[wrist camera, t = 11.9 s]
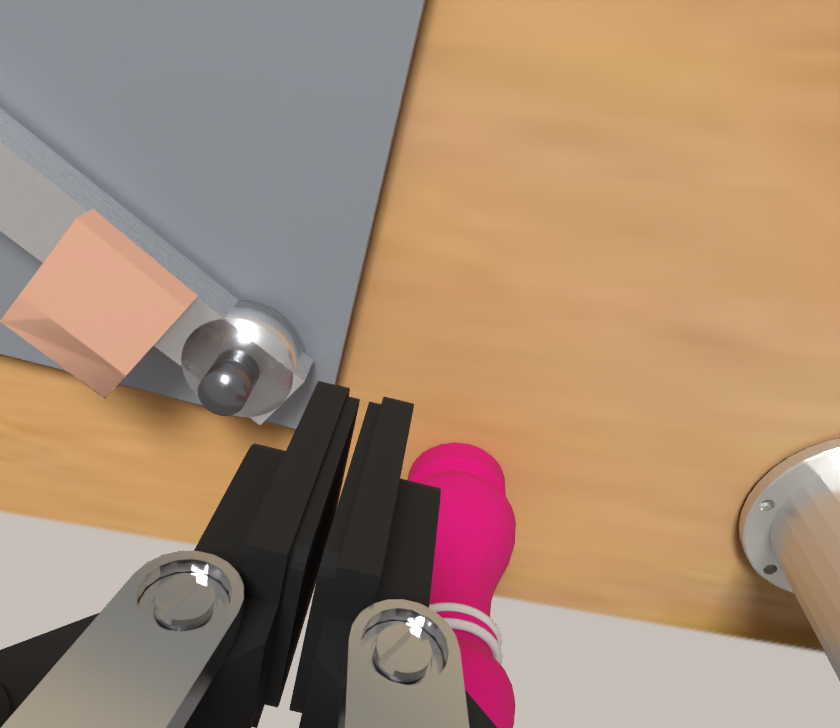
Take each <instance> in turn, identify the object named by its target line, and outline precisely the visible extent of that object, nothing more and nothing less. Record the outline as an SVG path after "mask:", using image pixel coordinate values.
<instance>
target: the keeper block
mask: <svg viewBox="0 0 840 728" xmlns="http://www.w3.org/2000/svg"><path fill="white" fill-rule="evenodd" d="M197 296H198V295H196V294H195V293H194V292H193V291H192V290H190V289H189V288H188V287H187V286H186V285H184V284H183V283H182V282H181V281H180V280H178V279H177V278H176V277H175V276H174V275H172V274H171V273H170V272H169V271H167V270H166V269H165V268H164V267H163V266H161V265H160V264H159V263H158V262H157V261H155V260H154V259H153V258H152V257H151V256H149V255H148V254H147V253H146V252H145V251H143V250H142V249H141V248H140V247H139V246H137V245H136V244H135V243H134V242H133V241H131V240H130V239H129V238H128V237H127V236H125V235H124V234H123V233H122V232H120V231H119V230H118V229H117V228H116V227H114V226H113V225H112V224H111V223H110V222H108V221H107V220H106V219H105V218H104V217H102V216H101V215H100V214H99V213H98V212H96V211H95V210H94V209H91V210H90V211H88V212H86V213H85V214H83V215H81V216H79V217H78V218H76V219H75V221H74V222H73V223H72V225H71V226H70V228H69V229H68V230H67V232H66V233H65V234H64V236H63V237H62V238H61V240H60V241H59V242H58V244H57V245H56V246H55V248H54V249H53V250H52V252H51V253H50V254H49V256H48V257H47V258H46V260H45V261H44V262H43V264H42V265H41V266H40V268H39V269H38V271H37V272H36V273H35V275H34V276H33V277H32V279H31V280H30V281H29V283H28V284H27V285H26V287H25V288H24V289H23V291H22V292H21V293H20V295H19V296H18V297H17V299H16V300H15V301H14V303H13V304H12V305H11V307H10V308H9V309H8V311H7V312H6V313H5V315H4V316H3V318H2V319H1V320H0V322H1V323H3V324H4V325H5V326H7V327H8V328H9V329H11V330H12V331H13V332H15V333H16V334H18V335H19V336H20V337H22V338H23V339H24V340H26V341H27V342H28V343H30V344H31V345H32V346H34V347H35V348H37V349H38V350H39V351H41V352H42V353H43V354H45V355H46V356H47V357H49V358H50V359H51V360H53V361H54V362H55V363H57V364H58V365H60V366H61V367H62V368H64V369H65V370H66V371H68V372H69V373H70V374H72V375H73V376H74V377H76V378H77V379H79V380H80V381H81V382H83V383H84V384H85V385H87V386H88V387H89V388H91V389H92V390H93V391H95V392H96V393H98V394H99V395H100V396H102V397H103V398H104V399H105V398H106V397H107V396H108V395H109V394H110V393H111V392H112V391H113V389H114V388H115V387H116V386H117V385H118V384H119V383H120V382H121V381H122V380H123V378H124V377H125V376H126V375H127V374H128V373H129V372H130V371H131V370H132V368H133V367H134V366H135V365H136V364H137V363H138V362H139V361H140V360H141V359H142V357H143V356H144V355H145V354H146V353H147V352H148V351H149V350H150V349H151V347H152V346H153V345H154V344H155V343H156V342H157V341H158V340H159V339H160V338H161V336H162V335H163V334H164V333H165V332H166V331H167V330H168V329H169V328H170V326H171V325H172V324H173V323H174V322H175V321H176V320H177V319H178V318H179V317H180V315H181V314H182V313H183V312H184V311H185V310H186V309H187V308H188V307H189V305H190V304H191V303H192V302H193V301H194V300H195V299H196V298H197Z"/></svg>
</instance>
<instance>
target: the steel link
mask: <svg viewBox="0 0 840 728" xmlns="http://www.w3.org/2000/svg"><path fill="white" fill-rule="evenodd" d="M91 209H94V210H95V211H96V212H98V213H99V214H100V215H101V216H102V217H104V218H105V219H106V220H107V221H108V222H110V223H111V224H112V225H113V226H114V227H116V228H117V229H118V230H119V231H120V232H122V233H123V234H124V235H125V236H127V237H128V238H129V239H130V240H131V241H133V242H134V243H135V244H136V245H137V246H139V247H140V248H141V249H142V250H143V251H145V252H146V253H147V254H148V255H149V256H151V257H152V258H153V259H154V260H155V261H157V262H158V263H159V264H160V265H161V266H163V267H164V268H165V269H166V270H167V271H169V272H170V273H171V274H172V275H174V276H175V277H176V278H177V279H178V280H180V281H181V282H182V283H183V284H184V285H186V286H187V287H188V288H189V289H190V290H192V291H193V292H194V293H195V294H196V295H198V296H197V298H196V299H195V300H194V301H193V302H192V303H191V304H190V305H189V307H188V308H187V309H186V310H185V311H184V312H183V313H182V314H181V315H180V317H179V318H178V319H177V320H176V321H175V322H174V323H173V324H172V325H171V326H170V328H169V329H168V330H167V331H166V332H165V333H164V334H163V335H162V336H161V338H160V339H159V340H158V341H157V342H156V343H155V344H154V345H153V346H155V347H156V348H157V349H159V350H160V351H161V352H163V353H164V354H165V355H167V356H168V357H169V358H171V359H172V360H173V361H175V362H176V363H177V364H179V365H180V366H181V367H182V370H183V373H184V376H185V379H186V381H187V383H188V384H189V386H190V388H191V389H192V390H193V392H194V393H195V394H196V395H197V396H198V397H199V400H200V402H201V403H202V405H203V406H204V407H205V408H206V409H208V410H209V411H210V412H212V413H215V414H217V415H222V416H230V415H232V416H237V417H249V418H251V419H252V420H253V421H255V422H256V423H257V424H259V425H261V424H262V423H263V422H264V421H265V420H266V419H267V418H268V417H269V416H270V415H271V414H272V413H273V412H274V411H275V410H276V409H277V408H278V407H279V406H280V405H281V404H282V403H283V402H284V401H285V400H286V399H287V398H288V397H289V396H290V395H291V394H292V393H293V392H294V391H295V390H296V389H297V388H298V387H300V386H301V385H302V384H303V383H304V381H305V379H306V377H307V374H308V372H309V370H310V367H311V365H312V363H313V359H312V358H310V357H309V356H308V355H307V354H305V353H304V352H303V348H302V343H301V340H300V337H299V335H298V333H297V331H296V329H295V328H294V326H293V325H292V324H291V323H290V321H289V320H288V319H287V318H286V317H285V316H283V315H282V314H281V313H280V312H278V311H277V310H275V309H274V308H272V307H270V306H268V305H265V304H263V303H260V302H256V301H251V300H238V299H237V298H236V297H235V296H233V295H232V294H231V293H230V292H228V291H227V290H226V289H225V288H223V287H222V286H221V285H220V284H218V283H217V282H216V281H215V280H213V279H212V278H211V277H210V276H208V275H207V274H206V273H205V272H203V271H202V270H201V269H200V268H199V267H197V266H196V265H195V264H194V263H192V262H191V261H190V260H189V259H187V258H186V257H185V256H184V255H182V254H181V253H180V252H179V251H177V250H176V249H175V248H174V247H172V246H171V245H170V244H169V243H167V242H166V241H165V240H164V239H163V238H161V237H160V236H159V235H158V234H156V233H155V232H154V231H153V230H151V229H150V228H149V227H148V226H146V225H145V224H144V223H143V222H141V221H140V220H139V219H138V218H136V217H135V216H134V215H133V214H131V213H130V212H129V211H128V210H126V209H125V208H124V207H123V206H122V205H120V204H119V203H118V202H117V201H115V200H114V199H113V198H112V197H110V196H109V195H108V194H107V193H105V192H104V191H103V190H102V189H100V188H99V187H98V186H97V185H95V184H94V183H93V182H92V181H90V180H89V179H88V178H87V177H86V176H84V175H83V174H82V173H81V172H79V171H78V170H77V169H76V168H74V167H73V166H72V165H71V164H69V163H68V162H67V161H66V160H64V159H63V158H62V157H61V156H59V155H58V154H57V153H56V152H54V151H53V150H52V149H51V148H49V147H48V146H47V145H46V144H45V143H43V142H42V141H41V140H40V139H38V138H37V137H36V136H35V135H33V134H32V133H31V132H30V131H28V130H27V129H26V128H25V127H23V126H22V125H21V124H20V123H18V122H17V121H16V120H15V119H13V118H12V117H11V116H10V115H9V114H7V113H6V112H5V111H4V110H2V109H1V108H0V231H1V232H2V233H4V234H5V235H6V236H8V237H9V238H10V239H12V240H13V241H14V242H16V243H17V244H18V245H20V246H21V247H22V248H24V249H25V250H26V251H28V252H29V253H30V254H32V255H33V256H34V257H36V258H37V259H38V260H40V261H41V262H42V263H43V262H44V261H45V260H46V258H47V257H48V256H49V254H50V253H51V252H52V250H53V249H54V248H55V246H56V245H57V244H58V242H59V241H60V240H61V238H62V237H63V236H64V234H65V233H66V232H67V230H68V229H69V228H70V226H71V225H72V223H73V222H74V221H75V219H76V218H78V217H79V216H81V215H83V214H85V213H86V212H88V211H90V210H91Z"/></svg>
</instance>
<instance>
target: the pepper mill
mask: <svg viewBox="0 0 840 728" xmlns="http://www.w3.org/2000/svg"><path fill="white" fill-rule="evenodd" d="M408 481H412V482H417V483H421V484H425V485H429V486H433V487H437V488H440V489H441V498H440V508H439V517H438V527H437V537H436V546H435V556H434V566H433V575H432V585H431V595H430V605H429V608H430V609H432V610H434V611H435V612H436V613H437V614H439V615H440V616H441V617H442V618H443V619H444V620H445V621H446V622H447V623H448V624H449V626H450V627H451V629H452V630H453V632H454V633H455V635H456V638H457V641H458V645H459V648H460V653H461V661H462V670H463V678H464V686H465V690H466V691H467V692H468V693H469V694H470V696H471V697H472V698H473V699H474V700H475V702H476V703H477V704H478V705H479V706H480V708H481V709H482V710H483V711H484V712H485V713H486V715H487V716H488V717H489V718H490V719H491V721H492V722H493V723H494V724H495V725H496V727H497V728H513V725H514V714H515V701H514V700H515V699H514V693H513V689H512V684H511V682H510V680H509V678H508V676H507V674H506V672H505V670H504V669H503V667H502V666H501V662H502V653H501V635H500V632H499V629H498V627H497V626H496V624H495V623H494V622H493V620H492V619H491V618H490V609H491V600H492V597H493V593H494V591H495V589H496V586H497V584H498V582H499V581H500V579H501V577H502V575H503V573H504V571H505V570H506V568H507V566H508V563H509V560H510V558H511V554H512V551H513V547H514V544H515V527H516V522H515V516H514V513H513V510H512V507H511V505H510V503H509V502H508V500H507V498H506V496H505V479H504V475H503V472H502V469H501V467H500V465H499V464H498V463H497V461H496V460H495V459H494V458H493V457H492V456H491V455H489V454H488V453H487V452H485V451H484V450H482V449H480V448H478V447H475V446H472V445H469V444H461V443H450V444H442V445H439V446H436V447H433V448H431V449H429V450H427V451H425V452H424V453H422V454H421V455H420V456H419V457H418V458H417V459H416V460H415V462H414V463H413V465H412V467H411V469H410V472H409V476H408Z"/></svg>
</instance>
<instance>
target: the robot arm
mask: <svg viewBox="0 0 840 728" xmlns="http://www.w3.org/2000/svg"><path fill="white" fill-rule="evenodd" d="M349 391H350V388H346V387H342V386H338V385H334V384H330V383H326V382H322V381H318V383H317V384H316V387H315V389H314V391H313V393H312V395H311V398H310V400H309V402H308V404H307V406H306V409H305V411H304V413H303V415H302V417H301V420H300V422H299V424H298V426H297V428H296V431H295V433H294V435H293V437H292V439H291V441H290V444H289V446H288V448H287V450H286V451H283V450H279V449H275V448H271V447H266V446H262V445H258V444H253V445H252V446H251V447H250V449H249V450H248V452H247V454H246V456H245V457H244V459H243V461H242V463H241V465H240V467H239V469H238V470H237V472H236V474H235V476H234V478H233V480H232V481H231V483H230V485H229V487H228V489H227V491H226V493H225V494H224V496H223V498H222V500H221V502H220V504H219V506H218V507H217V509H216V511H215V513H214V515H213V517H212V518H211V520H210V522H209V524H208V526H207V528H206V530H205V531H204V533H203V535H202V537H201V539H200V541H199V543H198V544H197V546H196V548H195V550H194V551H178V552H174V553H169V554H165V555H162V556H160V557H157V558H155V559H153V560H151V561H149V562H147V563H146V564H145V565H143V567H141V568H140V569H139V570H138V571H136V572H135V573H134V574H133V575H132V577H131V578H130V579H129V580H128V581H127V582H126V583H125V585H124V586H123V587H122V588H121V589H120V590H119V591H118V593H117V594H116V595H115V596H114V597H113V598H112V600H111V601H110V602H109V603H108V604H107V605H106V607H105V608H104V609H103V610H102V611H101V612H100V613H98V614H95V615H92V616H90V617H87V618H84V619H82V620H79V621H76V622H74V623H71V624H68V625H66V626H63V627H61V628H58V629H55V630H52V631H50V632H47V633H45V634H42V635H39V636H36V637H34V638H31V639H28V640H26V641H23V642H20V643H18V644H15V645H13V646H10V647H7V648H4V649H2V650H0V728H251V727H255V728H257V726H258V723H259V719H260V717H261V714H262V710H263V707H264V704H265V705H270V706H274V707H278V706H279V703H280V700H281V696H282V693H283V690H284V686H285V683H286V680H287V677H288V673H289V670H290V667H291V663H292V660H293V656H294V653H295V650H296V647H297V643H298V640H299V637H300V633H301V630H302V627H303V624H304V620H305V617H306V614H307V610H308V607H309V604H310V600H311V597H312V594H313V590H314V587H315V590H314V595H313V600H312V605H311V610H310V615H309V619H308V624H307V628H306V633H305V638H304V643H303V648H302V652H301V657H300V662H299V666H298V671H297V676H296V681H295V686H294V690H293V695H292V700H291V704H290V710H291V711H296V712H300V713H302V716H301V721H300V726H299V728H497V727H496V725H495V724H494V723H493V722H492V721H491V719H490V718H489V717H488V716H487V715H486V713H485V712H484V711H483V710H482V709H481V708H480V706H479V705H478V704H477V703H476V702H475V700H474V699H473V698H472V697H471V696H470V694H469V693H468V692H467V691H466V690H465V686H464V678H463V670H462V661H461V653H460V648H459V645H458V641H457V638H456V635H455V633H454V632H453V630H452V629H451V627H450V626H449V624H448V623H447V622H446V621H445V620H444V619H443V618H442V617H441V616H440V615H439V614H437V613H436V612H435V611H434V610H432V609H430V608H429V605H430V595H431V585H432V575H433V566H434V556H435V546H436V537H437V527H438V517H439V508H440V498H441V489H440V488H437V487H433V486H429V485H425V484H421V483H417V482H412V481H408V480H404V479H400V475H401V470H402V465H403V460H404V454H405V449H406V444H407V439H408V434H409V428H410V423H411V418H412V413H413V408H414V404H412V403H408V402H404V401H400V400H396V399H392V398H388V397H383V401H382V404H377V403H373V402H369V405H368V408H367V411H366V414H365V418H364V421H363V424H362V428H361V431H360V434H359V437H358V441H357V444H356V447H355V451H354V454H353V457H352V460H351V464H350V467H349V470H348V473H347V477H346V480H345V483H344V487H343V490H342V493H341V496H340V500H339V495H340V490H341V486H342V481H343V477H344V472H345V467H346V463H347V458H348V453H349V449H350V444H351V439H352V435H353V430H354V425H355V421H356V416H357V411H358V407H359V401H360V399H356V398H352V397H349ZM338 500H339V503H338ZM337 504H338V506H337ZM336 509H337V510H336ZM739 537H740V541H741V544H742V547H743V550H744V552H745V554H746V556H747V558H748V560H749V562H750V563H751V565H752V567H753V568H754V569H755V570H756V572H757V573H758V574H759V575H760V576H761V577H763V578H764V579H765V580H767V581H768V582H770V583H771V584H773V585H774V586H777V587H779V588H781V589H783V590H786V591H788V592H792V593H794V594H795V596H796V598H797V600H798V602H799V604H800V605H801V607H802V609H803V611H804V613H805V615H806V617H807V619H808V621H809V623H810V625H811V627H812V628H813V630H814V632H815V634H816V636H817V638H818V640H819V642H820V644H821V646H822V648H823V650H824V651H825V653H826V655H827V657H828V659H829V661H830V663H831V665H832V667H833V668H834V670H835V672H836V674H837V676H838V678H839V680H840V438H839V439H834V440H829V441H826V442H823V443H820V444H817V445H814V446H811V447H808V448H806V449H804V450H802V451H800V452H798V453H796V454H794V455H792V456H790V457H788V458H787V459H786V460H784V461H783V462H781V463H780V464H778V465H777V466H776V467H774V468H773V469H771V470H770V471H769V472H768V473H767V474H766V475H765V476H764V477H763V478H762V479H761V480H760V481H759V482H758V483H757V485H756V486H755V487H754V489H753V490H752V492H751V493H750V494H749V496H748V497H747V500H746V502H745V504H744V506H743V509H742V511H741V516H740V521H739ZM315 584H316V586H315Z"/></svg>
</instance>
